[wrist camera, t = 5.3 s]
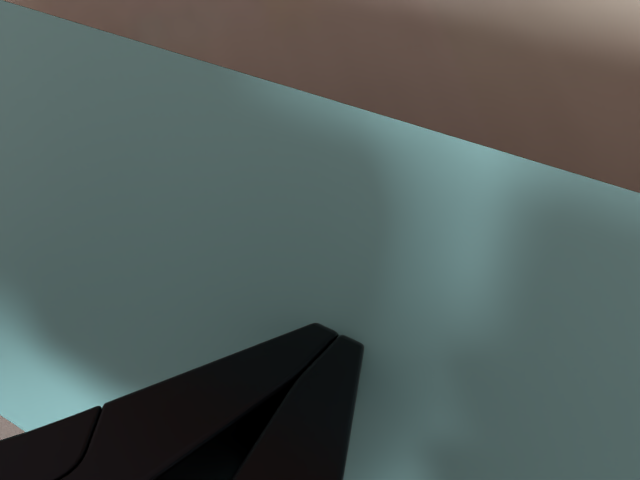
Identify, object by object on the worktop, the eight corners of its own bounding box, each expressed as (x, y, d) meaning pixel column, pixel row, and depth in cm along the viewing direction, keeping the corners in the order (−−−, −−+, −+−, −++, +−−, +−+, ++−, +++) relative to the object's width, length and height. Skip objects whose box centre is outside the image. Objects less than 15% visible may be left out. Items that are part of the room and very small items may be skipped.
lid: (870, 935, 7) (907, 1021, 6) (-46, 350, 13) (-81, 360, 12) (1317, 400, 5) (1445, 436, 4) (5, 1, 11) (-33, -10, 10)
